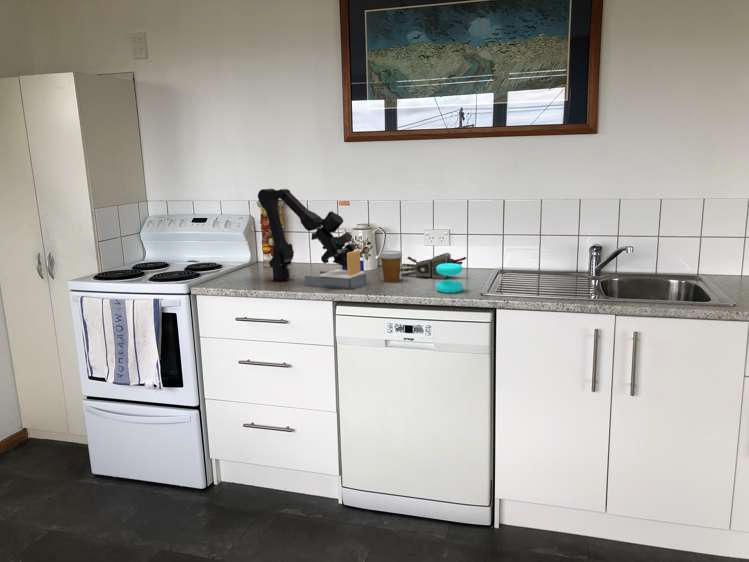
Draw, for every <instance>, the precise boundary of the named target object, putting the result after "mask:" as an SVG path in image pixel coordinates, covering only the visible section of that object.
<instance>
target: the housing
mask: <svg viewBox="0 0 749 562" xmlns="http://www.w3.org/2000/svg"><path fill="white" fill-rule="evenodd" d="M326 272H329V270H327V271H326V270H320V271H319V275H320V274H323V273H326ZM319 275H318V276H315V275H304V285H305V287H306V286H307V287H318V288H319V287H320V288H326V289H327V288H329V289H330V288H331V289H339V290H348V291H349V290H350V291H351V290H354V289H356V288H359V287H362V286H365V285H367V273H366V274H362V275H359V276H356V277H353V278H350V279H345V278H333V277H320V276H319Z"/></svg>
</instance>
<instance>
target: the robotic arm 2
mask: <svg viewBox="0 0 749 562" xmlns="http://www.w3.org/2000/svg"><path fill="white" fill-rule="evenodd" d="M451 256H452V254H451V253H449V252H445V253H442V254H439V255H435V256H434V257H432V258H430V259H429V258H428V259H425V260H424V259H423V260H420V261H417V259H416V258H413V257H411V256H408V257H407V258H406V259H407V260H409V261H411V262H412V263H401V266H402V267H405V268H400V272H403V273H401V274H400V276H401V277H407V276H416V277H427V278H432V279H437V280H445V279H446V278H447V277H448V276H447V275H441V274H439V273H438V272H437V271H436V267H437V266H438V265H440V264H445V263H454V264H460V265H461V266H462V265H463V261H464V260H467V257H466V256H464V257H461V258H457V259H454V258H451ZM406 267H407V268H406Z"/></svg>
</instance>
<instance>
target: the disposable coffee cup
mask: <svg viewBox="0 0 749 562" xmlns="http://www.w3.org/2000/svg"><path fill="white" fill-rule="evenodd" d="M402 257H403V253H402V251H401V250H384V251H381V252H380V254H379V259H380V262H381V268H382V276H383V281H384V282H385V283H396V282H399V281H400V276H401V274H400V273H401V271H400V269H401V266H402Z"/></svg>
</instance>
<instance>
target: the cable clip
mask: <svg viewBox="0 0 749 562" xmlns="http://www.w3.org/2000/svg"><path fill="white" fill-rule="evenodd" d="M364 263H365V262H364V260H361V259H360V271H364V272H365V267H364V266H365V265H364ZM341 270H347V268H346V267H344V266H342V265H341Z"/></svg>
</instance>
